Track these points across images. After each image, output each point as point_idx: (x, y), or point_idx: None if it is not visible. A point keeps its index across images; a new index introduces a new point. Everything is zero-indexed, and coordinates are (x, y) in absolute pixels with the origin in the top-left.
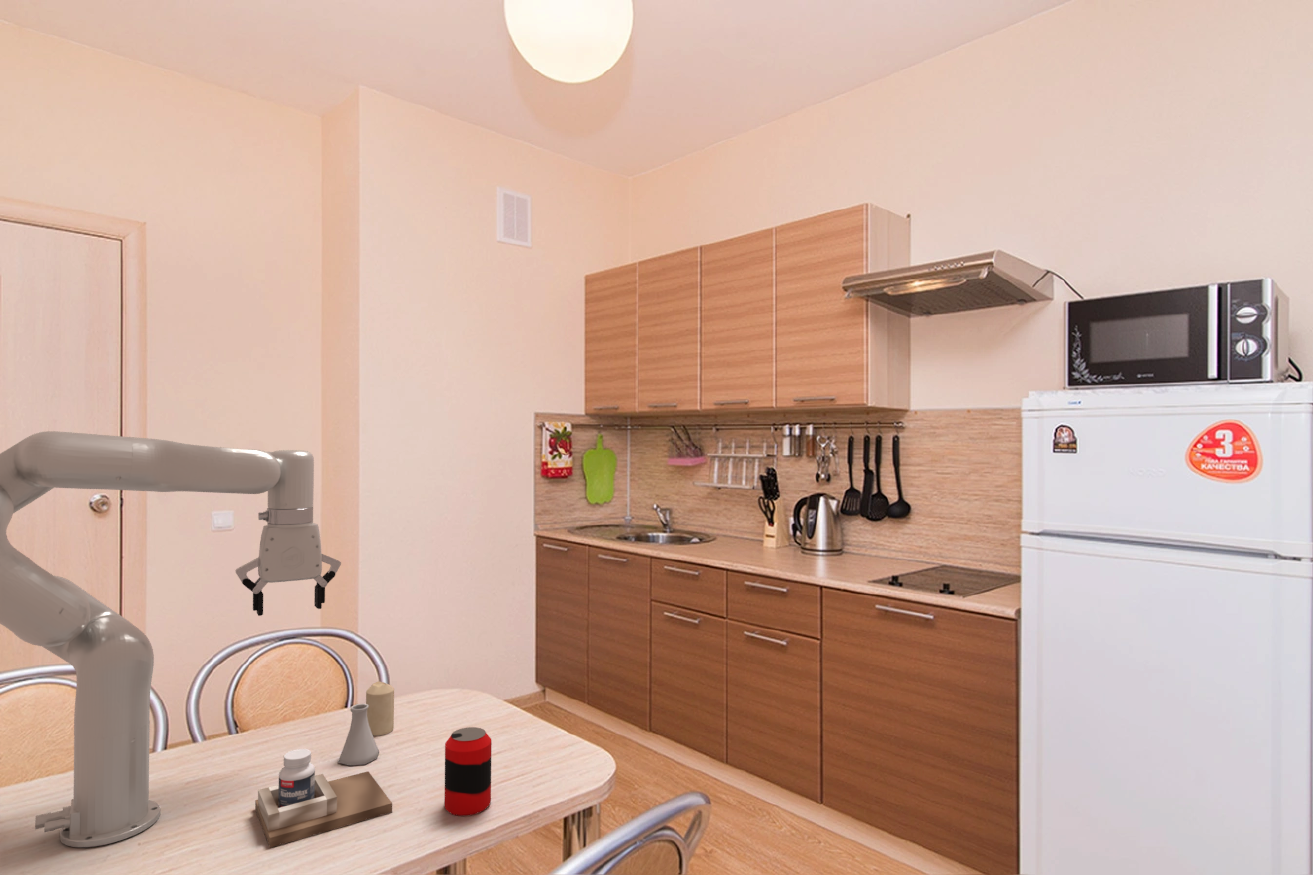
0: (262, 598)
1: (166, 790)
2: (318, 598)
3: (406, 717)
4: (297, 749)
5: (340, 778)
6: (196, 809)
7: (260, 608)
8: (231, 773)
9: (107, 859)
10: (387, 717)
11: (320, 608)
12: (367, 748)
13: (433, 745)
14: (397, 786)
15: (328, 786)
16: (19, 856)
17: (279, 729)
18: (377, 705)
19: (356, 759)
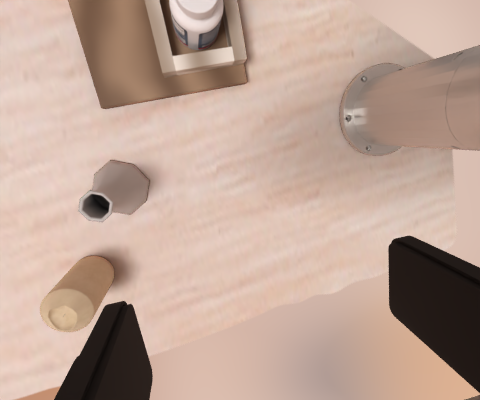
0: (474, 282)
1: (336, 181)
2: (107, 346)
3: None
4: (197, 11)
5: (141, 99)
6: (305, 115)
7: (427, 250)
8: (275, 201)
9: (377, 31)
10: (71, 269)
11: (113, 304)
12: (102, 173)
13: (4, 192)
14: (60, 65)
15: (151, 18)
16: None
17: (228, 316)
18: (79, 278)
19: (122, 165)
